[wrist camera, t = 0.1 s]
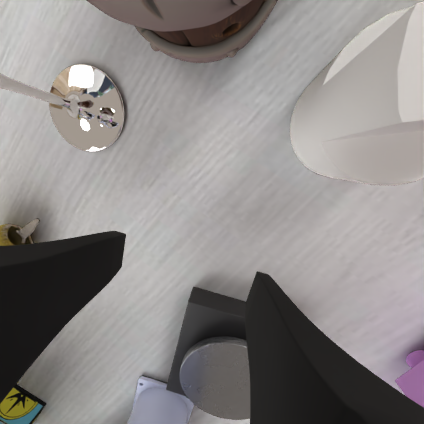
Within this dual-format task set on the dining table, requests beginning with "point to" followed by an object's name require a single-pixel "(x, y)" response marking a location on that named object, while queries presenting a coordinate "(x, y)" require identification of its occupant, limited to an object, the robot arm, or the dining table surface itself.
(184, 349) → the scale
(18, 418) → the carton
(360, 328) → the dining table surface
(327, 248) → the dining table surface
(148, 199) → the dining table surface
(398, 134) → the cylinder with rectangular tab
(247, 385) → the scale pan
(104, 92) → the wineglass
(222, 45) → the flowerpot
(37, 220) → the fruit
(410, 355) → the teapot
